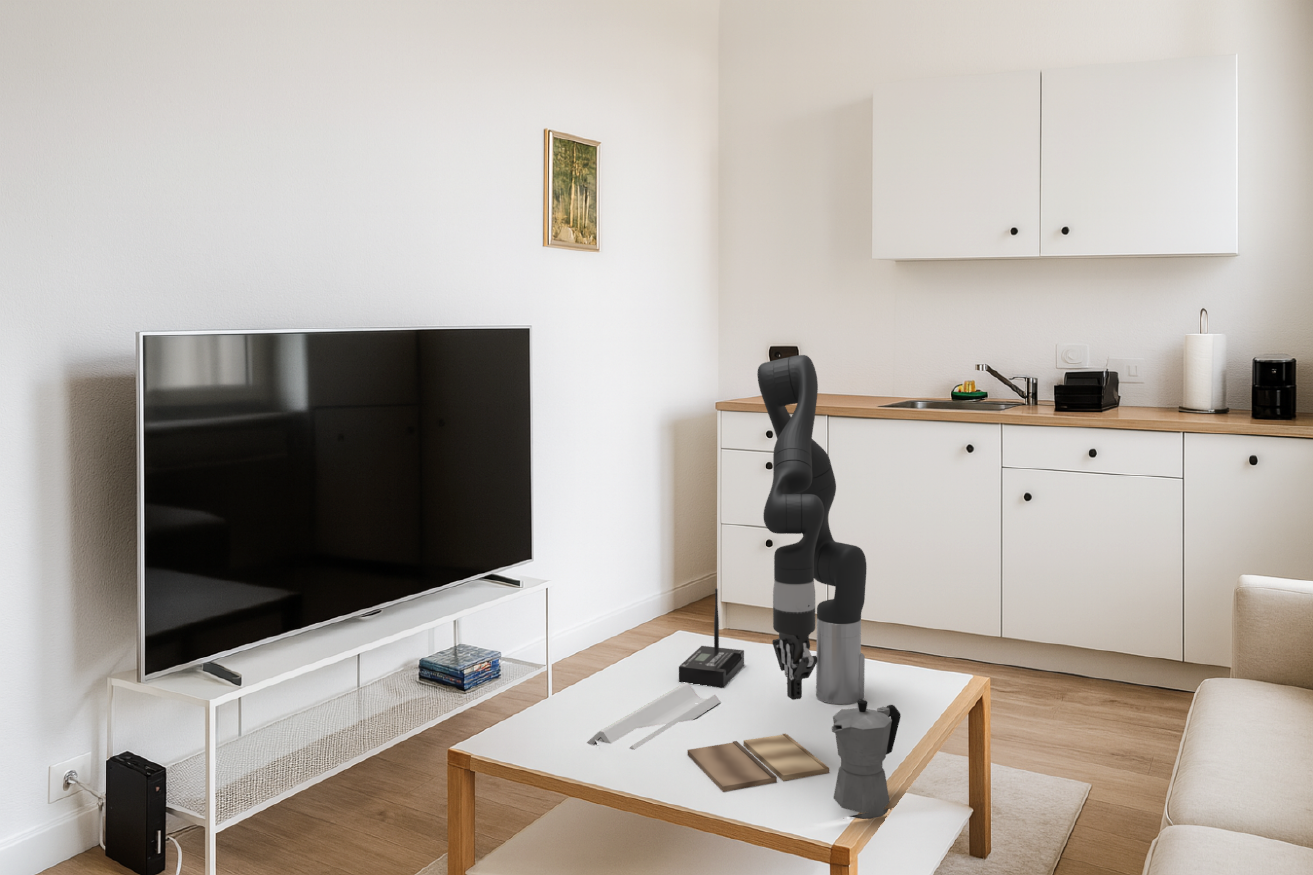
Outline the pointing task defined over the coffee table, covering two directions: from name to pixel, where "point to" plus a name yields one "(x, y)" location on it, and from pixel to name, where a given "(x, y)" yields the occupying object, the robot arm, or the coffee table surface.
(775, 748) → the oak plank
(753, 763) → the walnut board
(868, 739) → the coffeepot
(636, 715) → the crown molding
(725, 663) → the wireless controller
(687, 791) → the coffee table surface
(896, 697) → the coffee table surface
